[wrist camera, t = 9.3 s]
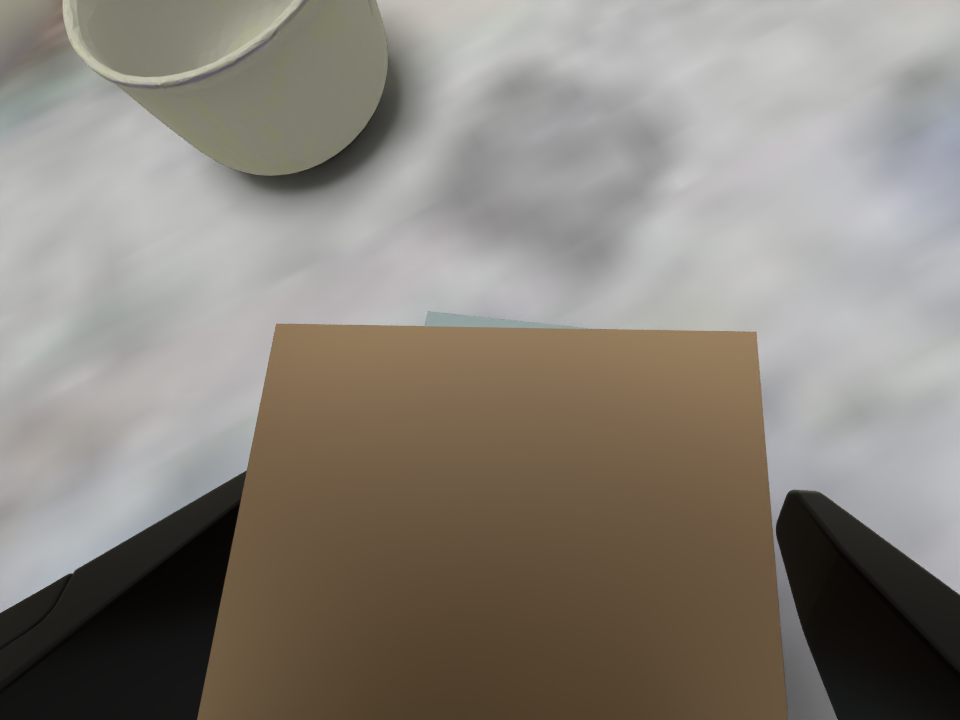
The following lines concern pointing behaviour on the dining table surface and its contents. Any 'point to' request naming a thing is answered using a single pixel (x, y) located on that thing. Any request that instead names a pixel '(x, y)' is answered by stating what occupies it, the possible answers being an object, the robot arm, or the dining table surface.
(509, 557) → the walnut block
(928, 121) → the dining table surface
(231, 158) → the teacup
